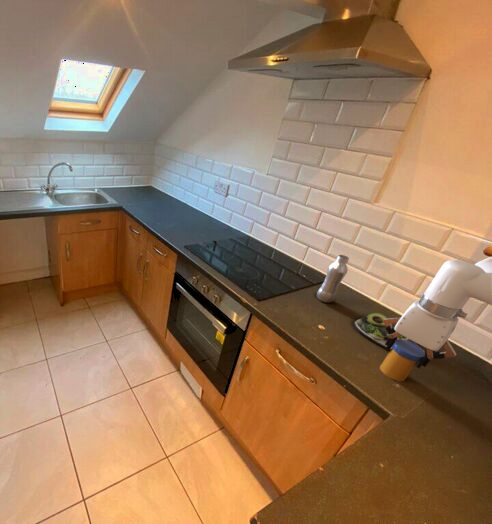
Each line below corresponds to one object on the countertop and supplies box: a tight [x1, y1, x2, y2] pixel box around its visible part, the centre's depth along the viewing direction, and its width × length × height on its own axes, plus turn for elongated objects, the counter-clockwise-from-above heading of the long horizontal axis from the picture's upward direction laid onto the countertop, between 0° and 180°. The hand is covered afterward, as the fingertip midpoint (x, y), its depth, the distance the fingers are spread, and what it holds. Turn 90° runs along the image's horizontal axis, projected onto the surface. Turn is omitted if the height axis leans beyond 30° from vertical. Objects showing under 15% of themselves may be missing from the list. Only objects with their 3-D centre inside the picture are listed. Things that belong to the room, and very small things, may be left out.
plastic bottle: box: [316, 254, 350, 304], centre depth 118 cm, size 6×7×20 cm
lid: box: [392, 339, 426, 362], centre depth 84 cm, size 7×7×2 cm
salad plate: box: [353, 312, 426, 353], centre depth 103 cm, size 19×18×5 cm
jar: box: [379, 348, 419, 382], centre depth 86 cm, size 6×6×10 cm
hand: (403, 356), depth 85 cm, fingers closed on lid, 6 cm apart
